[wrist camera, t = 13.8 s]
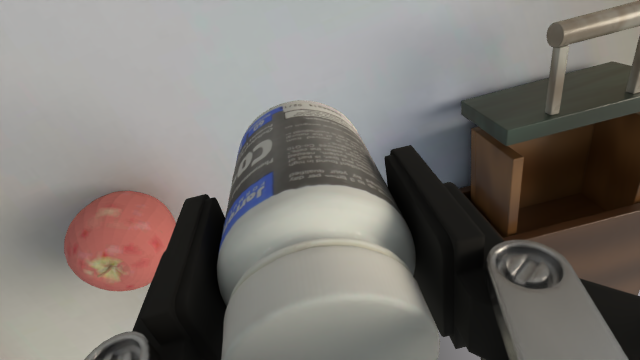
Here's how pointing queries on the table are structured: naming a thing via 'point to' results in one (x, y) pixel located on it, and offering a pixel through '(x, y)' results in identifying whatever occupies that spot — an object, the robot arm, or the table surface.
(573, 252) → the cabinet
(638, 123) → the drawer
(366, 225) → the pill bottle
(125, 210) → the apple
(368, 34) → the table surface
